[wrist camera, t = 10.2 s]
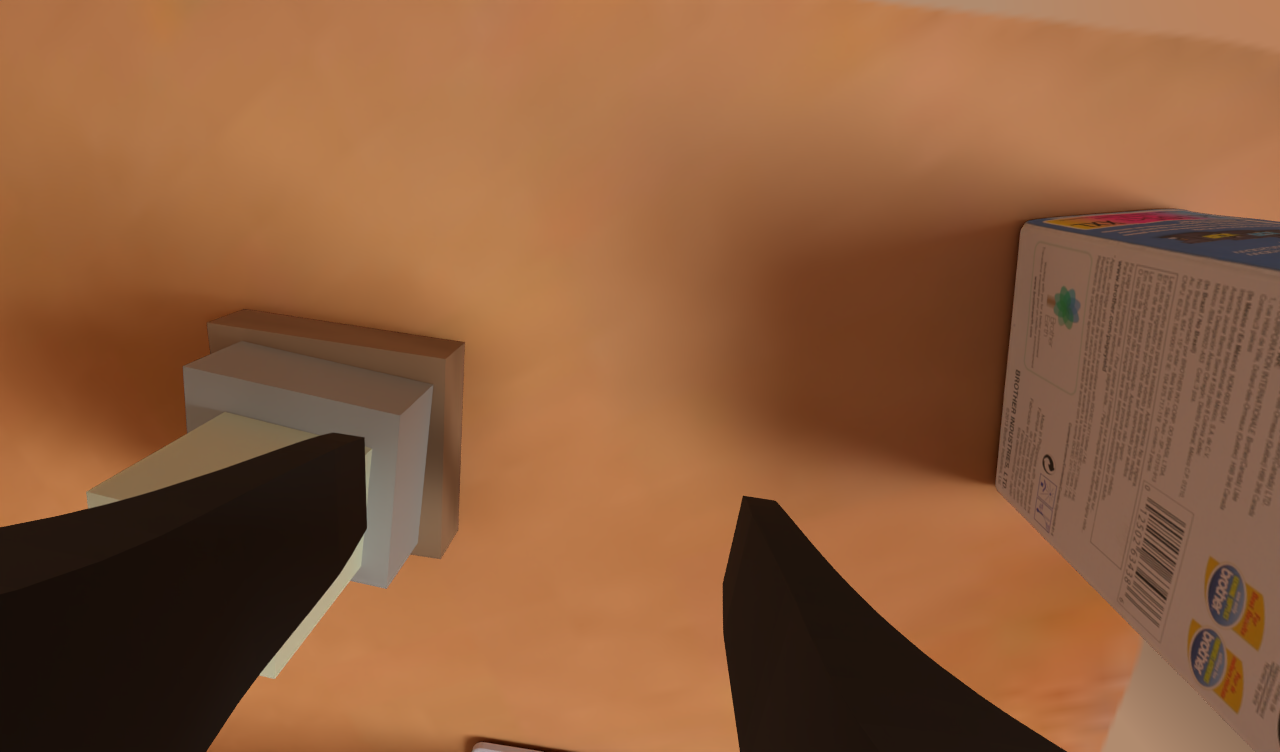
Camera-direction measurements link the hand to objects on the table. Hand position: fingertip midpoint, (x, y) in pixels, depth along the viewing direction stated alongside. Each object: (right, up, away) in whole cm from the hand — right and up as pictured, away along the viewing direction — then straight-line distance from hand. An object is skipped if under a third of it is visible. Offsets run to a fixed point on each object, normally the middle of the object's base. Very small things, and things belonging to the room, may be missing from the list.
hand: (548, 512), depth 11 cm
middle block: (-9, 0, +10) cm, 13 cm away
